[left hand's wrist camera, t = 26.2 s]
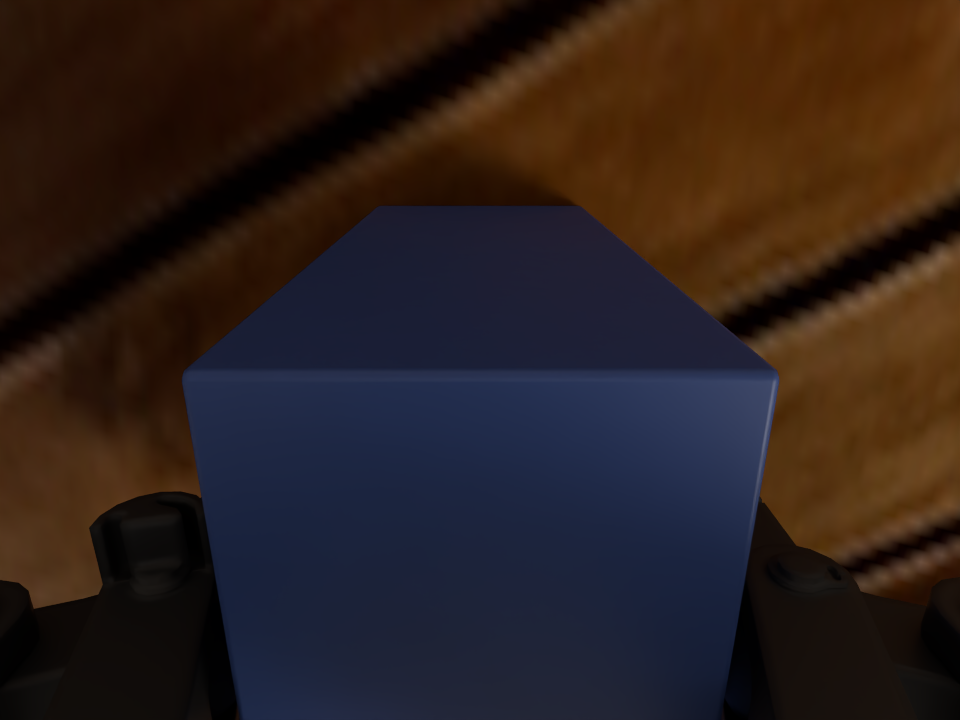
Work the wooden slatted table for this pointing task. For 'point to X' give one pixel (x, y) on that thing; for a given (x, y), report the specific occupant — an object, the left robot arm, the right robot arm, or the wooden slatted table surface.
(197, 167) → the wooden slatted table surface
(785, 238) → the wooden slatted table surface
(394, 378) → the block
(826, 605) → the left robot arm
